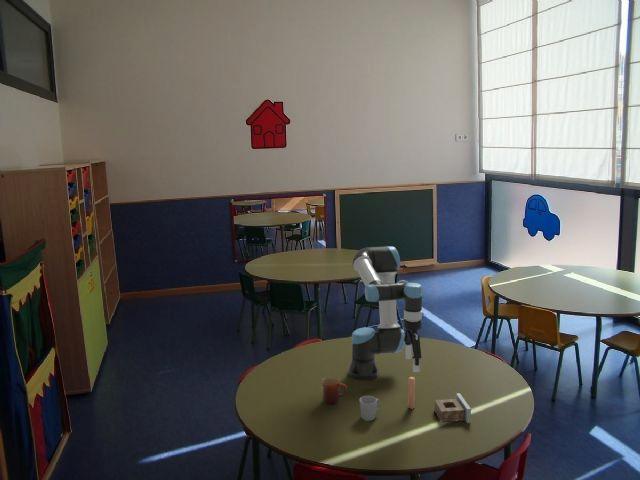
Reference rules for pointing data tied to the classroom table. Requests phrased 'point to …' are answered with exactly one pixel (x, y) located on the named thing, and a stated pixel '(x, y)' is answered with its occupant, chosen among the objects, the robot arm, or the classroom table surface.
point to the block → (449, 410)
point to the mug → (332, 390)
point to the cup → (369, 407)
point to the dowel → (411, 392)
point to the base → (465, 406)
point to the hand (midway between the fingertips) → (412, 365)
